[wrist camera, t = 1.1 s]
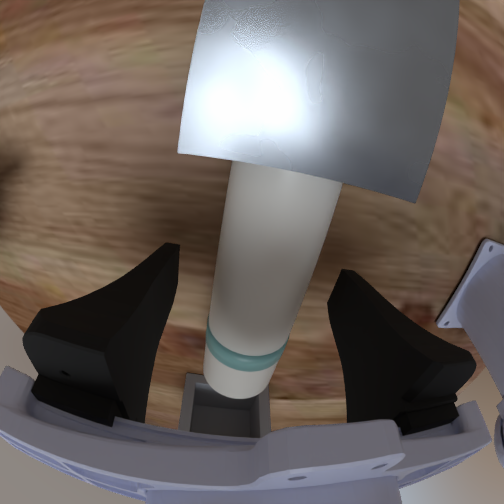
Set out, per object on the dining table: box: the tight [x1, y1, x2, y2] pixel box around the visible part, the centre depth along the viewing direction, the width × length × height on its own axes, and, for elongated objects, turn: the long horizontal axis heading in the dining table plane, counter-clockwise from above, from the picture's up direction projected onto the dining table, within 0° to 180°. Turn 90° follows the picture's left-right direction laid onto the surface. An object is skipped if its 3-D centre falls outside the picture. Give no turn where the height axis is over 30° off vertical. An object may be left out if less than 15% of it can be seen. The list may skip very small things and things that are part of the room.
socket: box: [178, 373, 271, 438], centre depth 20 cm, size 5×7×6 cm
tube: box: [203, 160, 343, 399], centre depth 10 cm, size 23×4×4 cm, turn 169°
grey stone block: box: [178, 0, 459, 203], centre depth 7 cm, size 11×7×6 cm, turn 169°
